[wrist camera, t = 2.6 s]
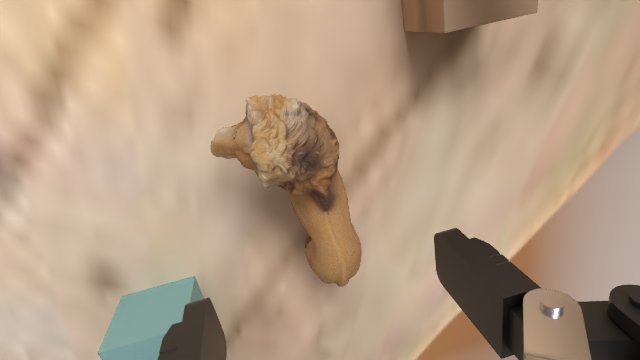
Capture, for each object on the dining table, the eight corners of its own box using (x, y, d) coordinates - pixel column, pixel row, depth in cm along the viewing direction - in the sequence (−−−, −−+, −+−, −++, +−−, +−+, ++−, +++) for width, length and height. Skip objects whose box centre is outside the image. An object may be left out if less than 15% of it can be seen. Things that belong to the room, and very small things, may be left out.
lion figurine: (207, 101, 22) (188, 146, 14) (286, 56, 22) (314, 75, 14) (319, 271, 28) (352, 371, 20) (381, 236, 28) (439, 323, 20)
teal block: (194, 275, 26) (185, 327, 22) (216, 326, 28) (211, 384, 24) (122, 295, 26) (97, 353, 21) (149, 346, 28) (132, 408, 23)
